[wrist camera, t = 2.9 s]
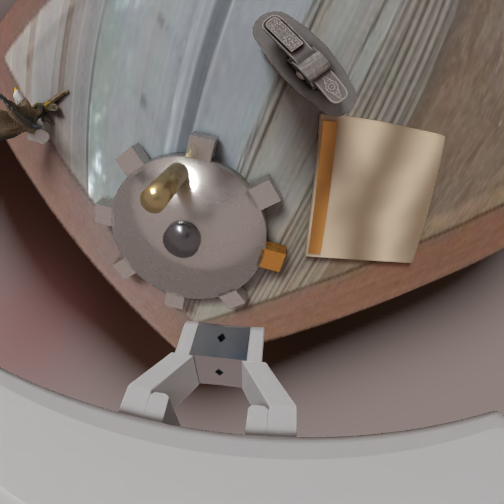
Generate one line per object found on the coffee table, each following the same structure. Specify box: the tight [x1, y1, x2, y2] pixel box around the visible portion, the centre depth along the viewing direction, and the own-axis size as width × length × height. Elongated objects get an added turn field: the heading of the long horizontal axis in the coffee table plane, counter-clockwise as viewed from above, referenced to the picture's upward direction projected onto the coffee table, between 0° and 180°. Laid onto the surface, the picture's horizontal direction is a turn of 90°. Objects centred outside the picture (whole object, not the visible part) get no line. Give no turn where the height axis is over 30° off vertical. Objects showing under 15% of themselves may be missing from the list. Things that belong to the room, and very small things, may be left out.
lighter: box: [253, 11, 356, 117], centre depth 17 cm, size 8×3×10 cm, turn 42°
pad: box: [305, 113, 445, 263], centre depth 26 cm, size 12×14×1 cm
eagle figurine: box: [0, 86, 69, 144], centre depth 20 cm, size 8×7×9 cm
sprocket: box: [95, 131, 286, 310], centre depth 27 cm, size 20×20×8 cm
